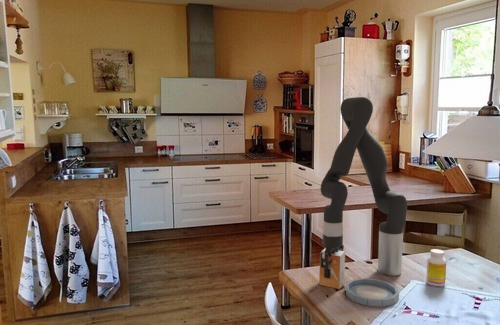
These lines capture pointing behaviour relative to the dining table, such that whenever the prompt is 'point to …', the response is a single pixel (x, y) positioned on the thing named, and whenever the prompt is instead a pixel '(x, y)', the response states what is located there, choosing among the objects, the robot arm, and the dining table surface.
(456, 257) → the dining table surface
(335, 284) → the small box
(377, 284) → the grey shallow round dish
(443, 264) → the supplement bottle
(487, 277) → the dining table surface
